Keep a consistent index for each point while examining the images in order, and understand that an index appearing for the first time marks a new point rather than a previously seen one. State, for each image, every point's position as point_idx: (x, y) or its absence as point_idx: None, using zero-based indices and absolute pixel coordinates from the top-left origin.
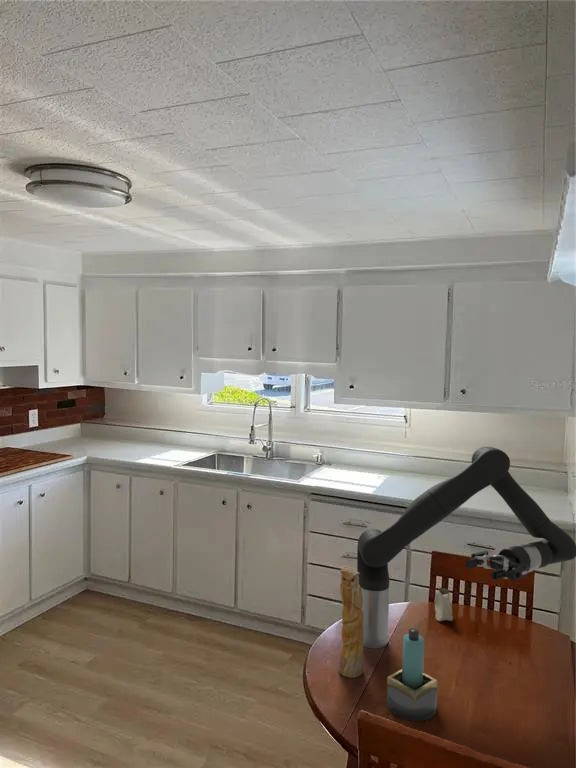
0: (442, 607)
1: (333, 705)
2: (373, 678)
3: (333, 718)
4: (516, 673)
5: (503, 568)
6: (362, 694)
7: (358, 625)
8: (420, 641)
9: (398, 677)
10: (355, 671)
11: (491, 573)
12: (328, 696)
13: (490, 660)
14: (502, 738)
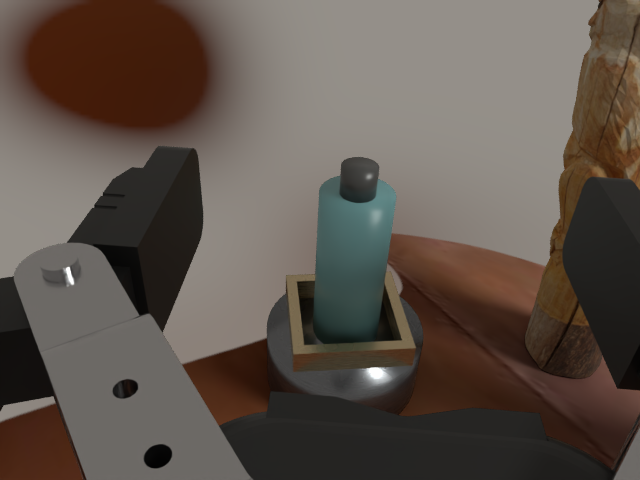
0: None
1: (434, 256)
2: (504, 375)
3: (395, 238)
4: None
5: (100, 256)
6: (444, 314)
7: (559, 195)
8: (327, 194)
9: (388, 309)
10: (528, 326)
11: (195, 162)
12: (470, 264)
13: None
14: (58, 457)
